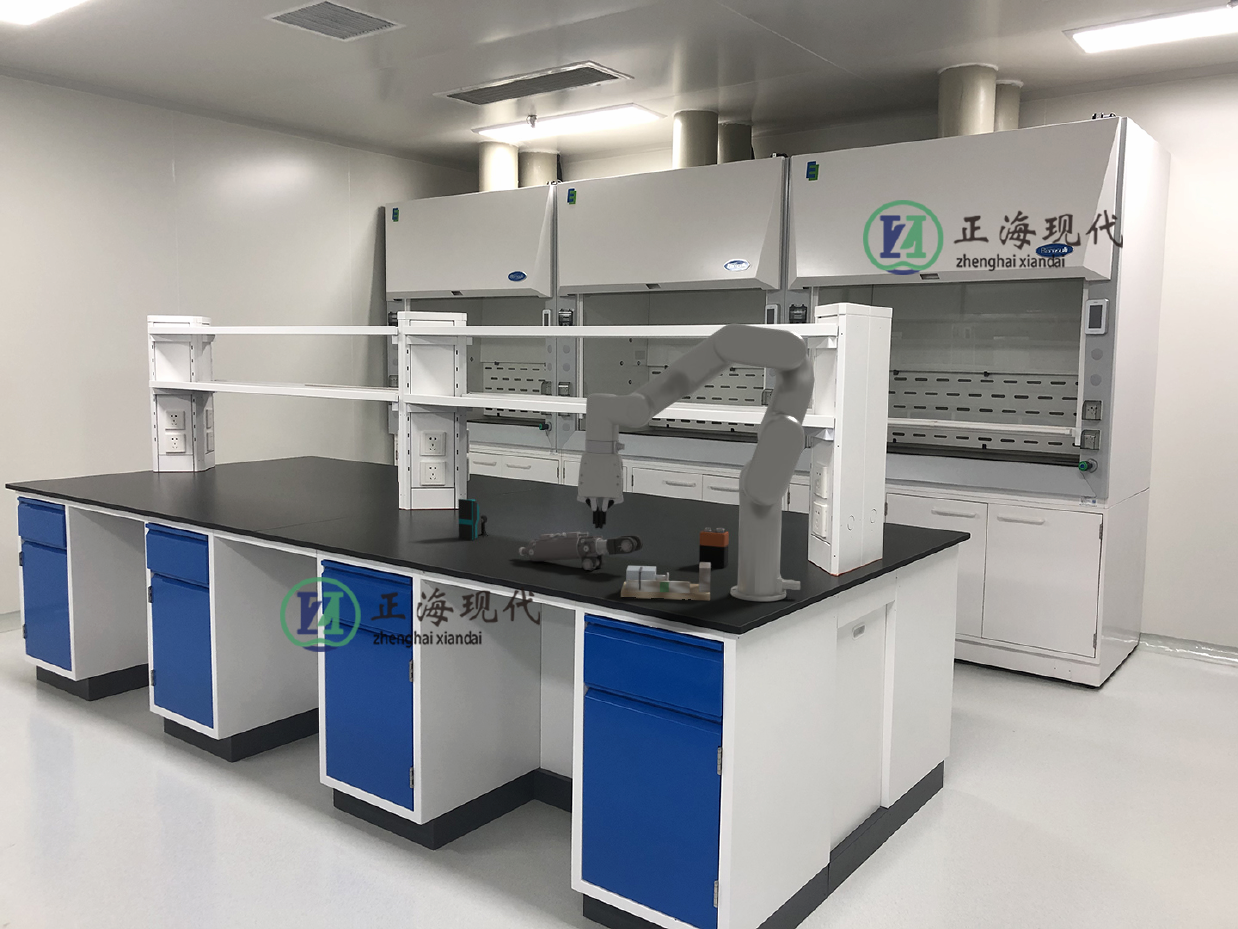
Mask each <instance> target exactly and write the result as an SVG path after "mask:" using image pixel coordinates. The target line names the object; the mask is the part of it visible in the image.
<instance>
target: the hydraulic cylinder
mask: <svg viewBox="0 0 1238 929" xmlns="http://www.w3.org/2000/svg"><path fill="white" fill-rule="evenodd" d="M589 534H590V533H589V532H588V531H586V532H581V531H573V532H571V531H570V532H562V533H559V532H558V533H546V534H540V535H539V538H538V539H531V540H530V541H529V542H528V544H527V545H526V547H523V546H520V547H519V548H518V549H517V554H518V555H520V556H525V555H526V556H527V557H528V558H529V559H530V560H531V561H532V562H548V561H549V562H550V561H551V562H552V561H553V562H554V561H566V560H567V561H570V560H580V561H581V566H582V569H584V570H585V571H586V570H590V571H589V572H591V571H595V569H600V568H603V566H604V565H605V564H608V563H607V562H606V561H605V556H604V555H605V554H606V553H608V555H609V556H613V555H628V554H631V553H634V552H637V551H640V550H642V548H643V547H644V540H643V538H642V536H640V535H638V534H629V535H628V534H627V535H617V536H614V537H609V538H607V539H604V536H603V535H589Z"/></svg>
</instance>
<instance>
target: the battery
mask: <svg viewBox="0 0 1238 929" xmlns="http://www.w3.org/2000/svg"><path fill="white" fill-rule="evenodd" d="M729 534H730V533H729V531H726V530H725V528H723V527H717V528H715V529H711V527H705V528H704V530H702V531H700V532H699V546H698V547H699V548H698V549H699V552H698V554H699V556H698V560H699V561H698V562H699V563H698V566H700V562H708V563H711V568H717V569H723V568H725V567H727V566H728V564H729V543H730V542H729V540H730V539H729V538H730V536H729Z"/></svg>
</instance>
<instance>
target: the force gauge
mask: <svg viewBox="0 0 1238 929" xmlns="http://www.w3.org/2000/svg"><path fill="white" fill-rule="evenodd" d="M625 575H626V576H625V578H626V579H625V582H626V588H628V580H639V584H641V580H651V581H670V573H669V572H666V574H657V566H652V565H651V566H649V565H648V566H647V565H627V568H626V574H625Z"/></svg>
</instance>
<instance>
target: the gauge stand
mask: <svg viewBox="0 0 1238 929" xmlns="http://www.w3.org/2000/svg"><path fill="white" fill-rule="evenodd" d="M698 566H699V571H698V574H699V575H698V576H699V577H698V583H691V581H683V580H682V581H678V580H669V581H667V580H656V581H651V580H641V584H639V580H628V588H626V581H624V582H623V584H622V587H621V590H620V598H621V597H636V598H635V599H651V598H664V599H663V600H682V599H685V601H688V599H691V600H690V601H692V600H693V601H711V571H712V570H711V568H712V567H711V563H708V562H700V565H698Z"/></svg>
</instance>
